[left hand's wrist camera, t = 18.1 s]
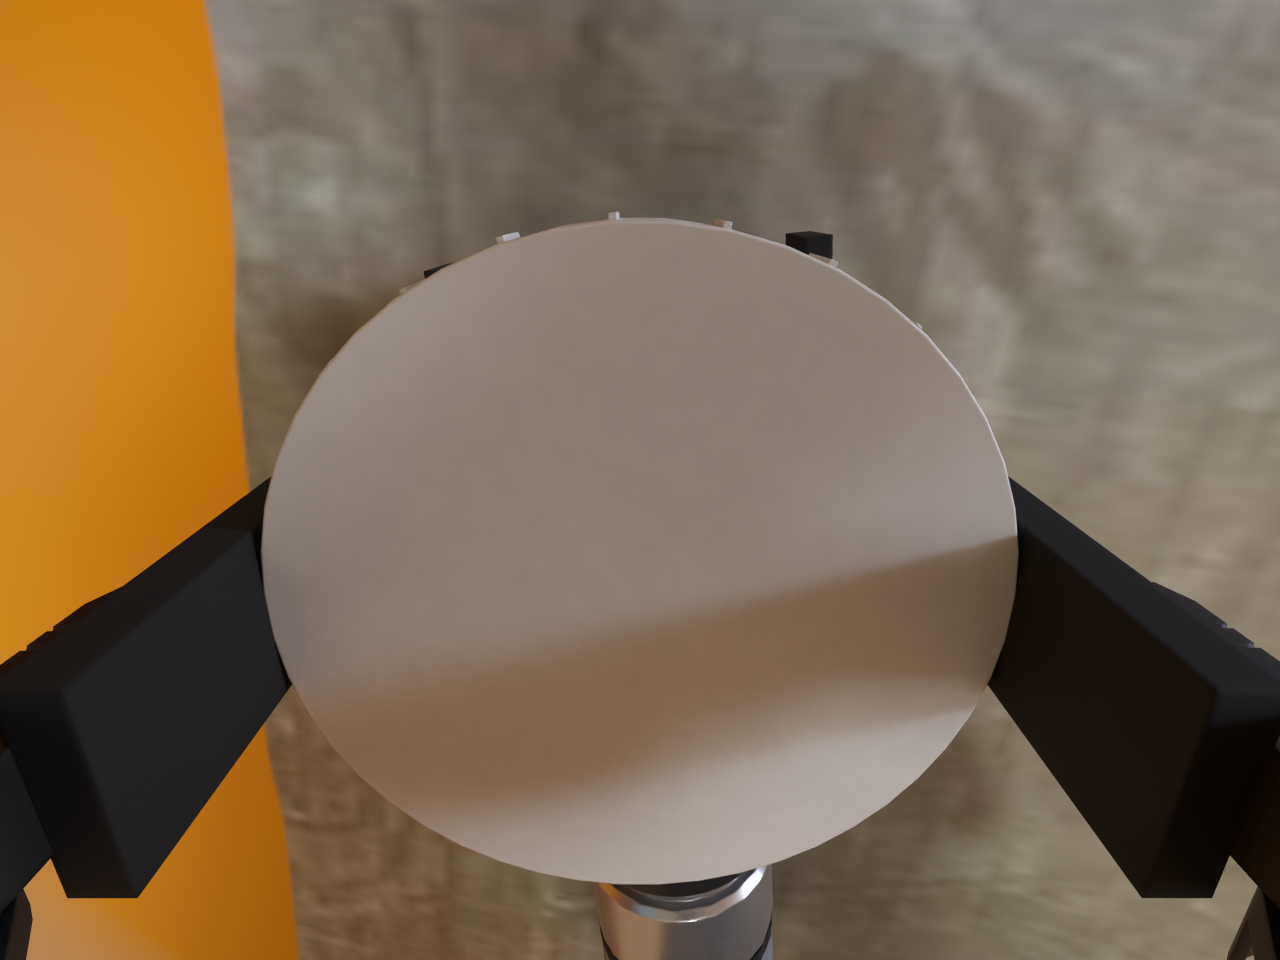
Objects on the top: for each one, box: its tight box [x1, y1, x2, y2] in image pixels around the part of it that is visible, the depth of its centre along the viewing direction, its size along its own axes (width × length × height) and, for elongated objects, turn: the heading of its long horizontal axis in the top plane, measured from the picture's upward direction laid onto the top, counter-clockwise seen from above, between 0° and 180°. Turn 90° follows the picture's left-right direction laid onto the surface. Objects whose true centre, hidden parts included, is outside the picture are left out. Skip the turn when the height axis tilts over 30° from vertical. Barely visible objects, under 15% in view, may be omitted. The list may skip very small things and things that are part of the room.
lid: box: [261, 212, 1019, 884], centre depth 11 cm, size 11×11×2 cm
